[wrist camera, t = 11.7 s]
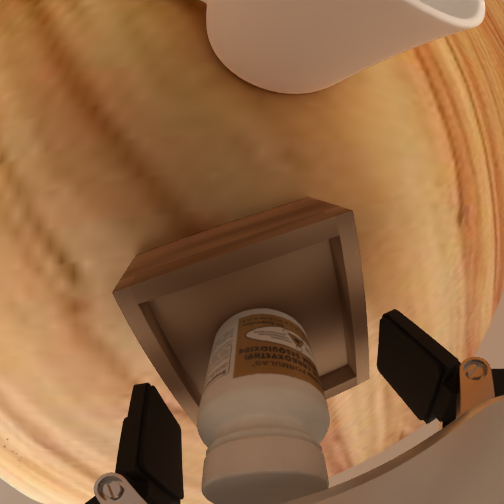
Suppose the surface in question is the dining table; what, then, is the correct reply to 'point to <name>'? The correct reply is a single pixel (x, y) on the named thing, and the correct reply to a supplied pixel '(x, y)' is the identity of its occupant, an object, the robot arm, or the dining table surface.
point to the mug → (325, 36)
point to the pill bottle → (262, 413)
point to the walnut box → (252, 293)
